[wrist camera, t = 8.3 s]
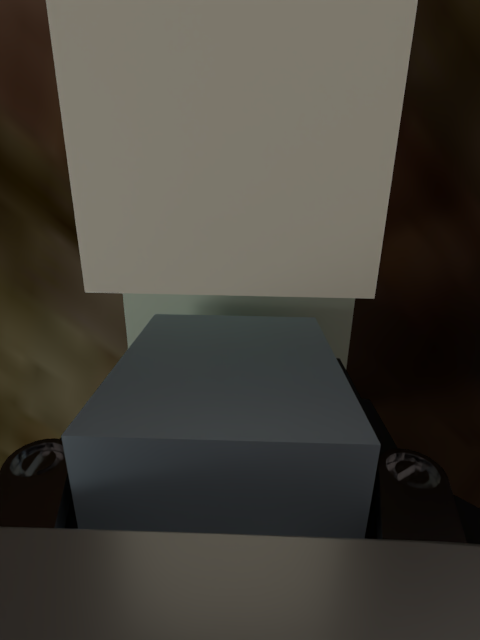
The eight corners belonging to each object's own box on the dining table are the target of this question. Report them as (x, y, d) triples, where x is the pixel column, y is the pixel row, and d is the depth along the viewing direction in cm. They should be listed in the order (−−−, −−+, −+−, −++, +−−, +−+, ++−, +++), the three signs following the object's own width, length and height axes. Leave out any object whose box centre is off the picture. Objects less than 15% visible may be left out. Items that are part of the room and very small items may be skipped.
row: (316, 552, 18) (355, 764, 11) (154, 546, 18) (99, 752, 11) (377, 38, 11) (580, -203, 4) (109, 36, 11) (-106, -198, 4)
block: (303, 449, 13) (344, 649, 7) (164, 445, 13) (98, 640, 7) (315, 317, 11) (380, 445, 6) (155, 314, 11) (61, 436, 6)
